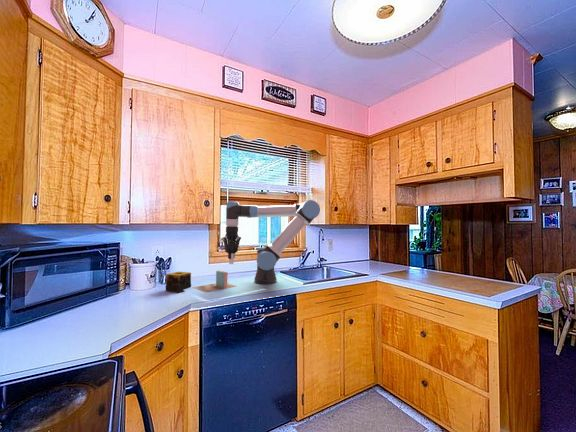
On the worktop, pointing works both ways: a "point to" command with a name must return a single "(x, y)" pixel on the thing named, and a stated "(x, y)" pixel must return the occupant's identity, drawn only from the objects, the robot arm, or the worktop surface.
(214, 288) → the board
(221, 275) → the tile
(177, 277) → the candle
